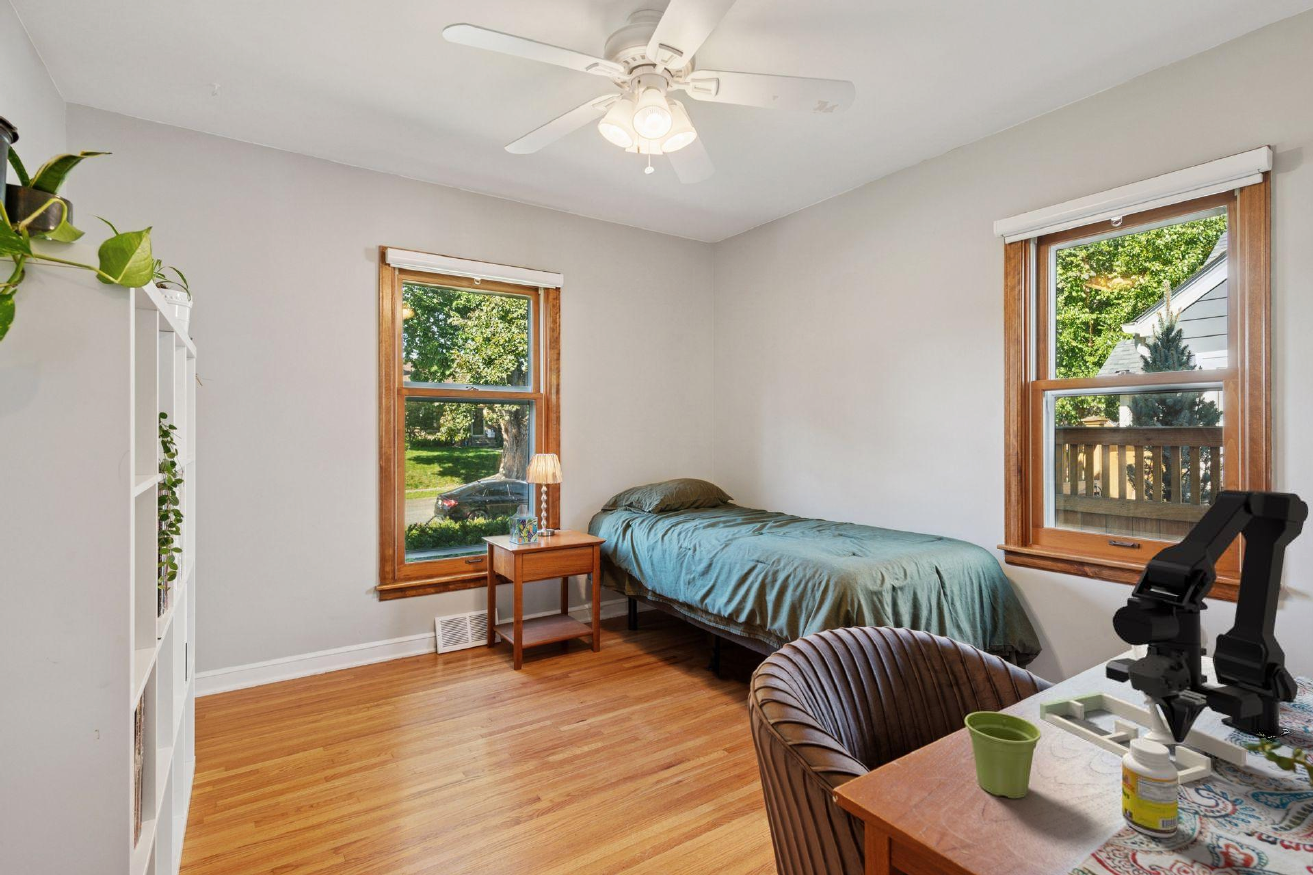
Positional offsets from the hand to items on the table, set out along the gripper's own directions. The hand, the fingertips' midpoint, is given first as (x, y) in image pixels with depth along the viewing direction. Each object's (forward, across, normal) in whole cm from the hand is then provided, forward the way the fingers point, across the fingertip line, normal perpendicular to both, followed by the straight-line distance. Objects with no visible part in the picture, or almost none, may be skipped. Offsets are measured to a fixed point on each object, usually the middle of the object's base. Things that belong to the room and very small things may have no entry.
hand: (1179, 742), depth 99 cm
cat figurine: (0, -19, +28) cm, 34 cm away
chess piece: (+1, -2, 0) cm, 3 cm away
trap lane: (+1, -5, -2) cm, 6 cm away
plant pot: (+3, -3, -33) cm, 33 cm away
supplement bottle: (+3, +10, -23) cm, 26 cm away
